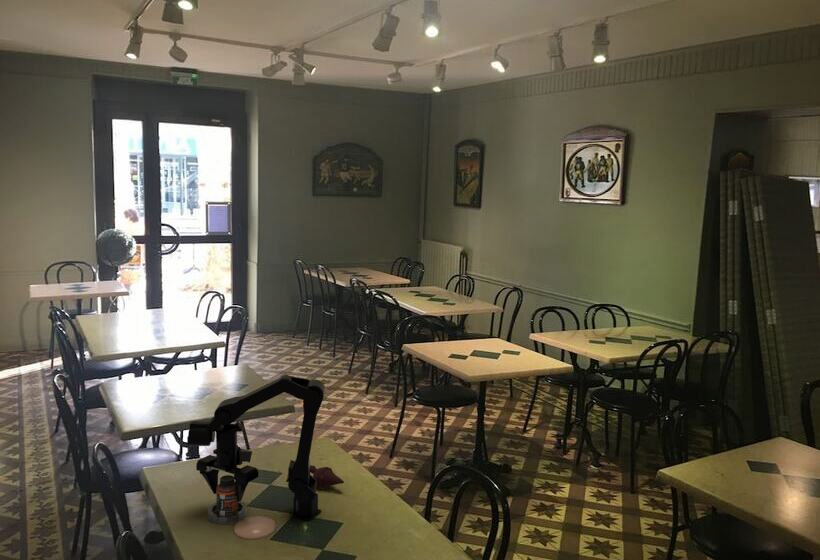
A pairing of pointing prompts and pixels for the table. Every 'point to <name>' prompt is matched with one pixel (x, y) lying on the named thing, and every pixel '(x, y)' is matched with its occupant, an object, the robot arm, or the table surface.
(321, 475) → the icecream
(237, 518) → the cup collar
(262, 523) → the terracotta saucer
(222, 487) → the supplement bottle
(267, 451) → the table surface
